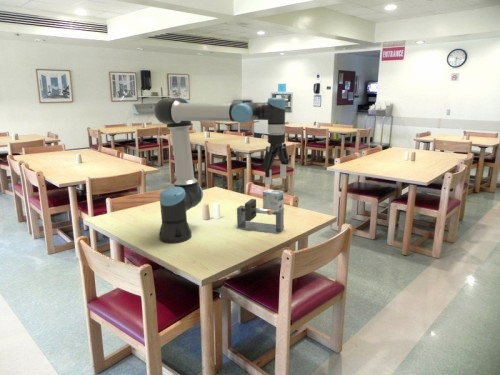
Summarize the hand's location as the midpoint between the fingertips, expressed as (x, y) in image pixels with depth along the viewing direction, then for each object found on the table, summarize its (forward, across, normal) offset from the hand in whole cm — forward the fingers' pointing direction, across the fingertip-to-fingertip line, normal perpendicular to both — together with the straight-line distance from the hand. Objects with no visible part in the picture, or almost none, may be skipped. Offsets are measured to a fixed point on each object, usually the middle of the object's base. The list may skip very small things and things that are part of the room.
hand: (275, 181), depth 168 cm
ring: (+23, +7, +18) cm, 30 cm away
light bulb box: (+28, +39, +24) cm, 54 cm away
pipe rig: (+27, +8, +13) cm, 31 cm away
